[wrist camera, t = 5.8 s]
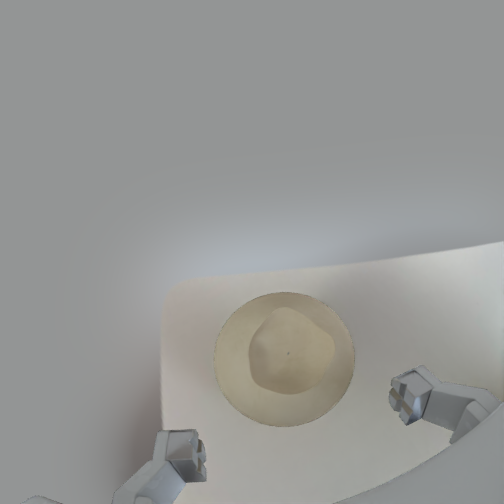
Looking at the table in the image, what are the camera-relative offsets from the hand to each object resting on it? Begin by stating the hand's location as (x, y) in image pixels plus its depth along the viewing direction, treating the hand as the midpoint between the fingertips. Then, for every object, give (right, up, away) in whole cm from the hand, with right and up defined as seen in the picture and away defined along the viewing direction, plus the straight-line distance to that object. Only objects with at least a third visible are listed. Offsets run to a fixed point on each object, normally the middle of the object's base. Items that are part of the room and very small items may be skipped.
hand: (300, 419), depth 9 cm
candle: (0, -2, +8) cm, 8 cm away
